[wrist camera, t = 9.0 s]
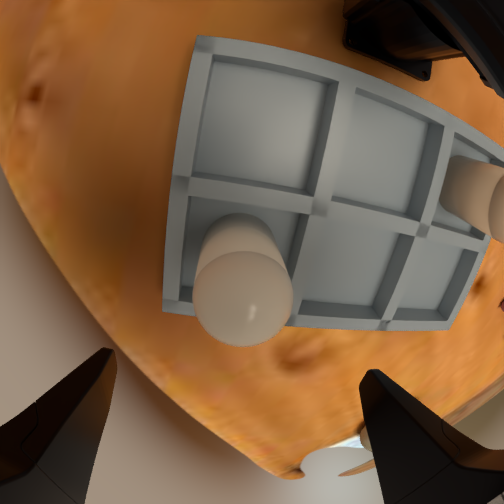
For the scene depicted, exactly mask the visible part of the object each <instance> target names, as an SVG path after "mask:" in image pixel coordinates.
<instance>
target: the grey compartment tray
mask: <svg viewBox="0 0 504 504" xmlns="http://www.w3.org/2000/svg"><path fill="white" fill-rule="evenodd" d="M456 155H462V156H465V157H469V158H473V159H476V160H480V161H483V162H486V163H489V164H493V165H496V166H499V167H502V168H504V148H502V147H501V146H500V145H498V144H497V143H495V142H494V141H493V140H491V139H490V138H488V137H487V136H485V135H484V134H482V133H481V132H479V131H478V130H476V129H475V128H473V127H472V126H470V125H469V124H467V123H465V122H464V121H462V120H461V119H459V118H457V117H455V116H454V115H452V114H450V113H449V112H447V111H445V110H443V109H441V108H440V107H438V106H436V105H434V104H432V103H430V102H428V101H427V100H425V99H423V98H421V97H419V96H417V95H415V94H412V93H410V92H408V91H406V90H404V89H402V88H400V87H397V86H395V85H393V84H391V83H388V82H386V81H384V80H381V79H379V78H376V77H374V76H371V75H369V74H366V73H363V72H361V71H358V70H355V69H352V68H350V67H347V66H344V65H341V64H338V63H335V62H332V61H328V60H325V59H322V58H318V57H315V56H311V55H308V54H304V53H300V52H296V51H292V50H288V49H284V48H279V47H275V46H270V45H265V44H260V43H254V42H248V41H242V40H236V39H229V38H221V37H212V36H202V35H197V38H196V42H195V46H194V51H193V55H192V59H191V64H190V69H189V73H188V78H187V83H186V88H185V94H184V99H183V104H182V110H181V116H180V122H179V128H178V134H177V141H176V148H175V155H174V162H173V170H172V178H171V187H170V196H169V206H168V216H167V228H166V241H165V256H164V274H163V301H162V312H168V313H175V314H182V315H189V316H196V314H195V311H194V307H193V300H192V295H193V286H194V281H195V276H196V270H197V265H198V260H199V255H200V250H201V245H202V240H203V237H204V234H205V232H206V230H207V229H208V228H209V226H210V225H211V224H212V223H213V222H214V221H216V220H217V219H219V218H220V217H223V216H225V215H228V214H232V213H246V214H250V215H253V216H256V217H258V218H259V219H261V220H262V221H264V222H265V223H266V224H267V225H268V227H269V228H270V229H271V231H272V233H273V235H274V238H275V241H276V243H277V246H278V248H279V251H280V253H281V256H282V259H283V261H284V264H285V267H286V269H287V272H288V274H289V277H290V280H291V283H292V287H293V307H292V311H291V314H290V317H289V319H288V321H287V322H286V324H285V326H294V327H308V328H325V329H346V330H380V331H433V330H449V329H450V327H451V325H452V324H453V322H454V320H455V318H456V316H457V314H458V312H459V310H460V308H461V306H462V305H463V303H464V300H465V298H466V296H467V294H468V292H469V290H470V288H471V286H472V284H473V281H474V279H475V277H476V275H477V272H478V270H479V268H480V265H481V263H482V260H483V258H484V255H485V253H486V250H487V248H488V245H489V242H490V239H491V237H490V236H489V235H487V234H485V233H484V232H482V231H480V230H479V229H477V228H475V227H474V226H472V225H470V224H468V223H467V222H465V221H463V220H461V219H460V218H458V217H456V216H454V215H452V214H450V213H449V212H447V211H446V210H444V209H443V207H442V206H441V204H440V202H439V196H440V193H441V189H442V185H443V182H444V178H445V174H446V170H447V166H448V162H449V158H451V157H453V156H456Z"/></svg>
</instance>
